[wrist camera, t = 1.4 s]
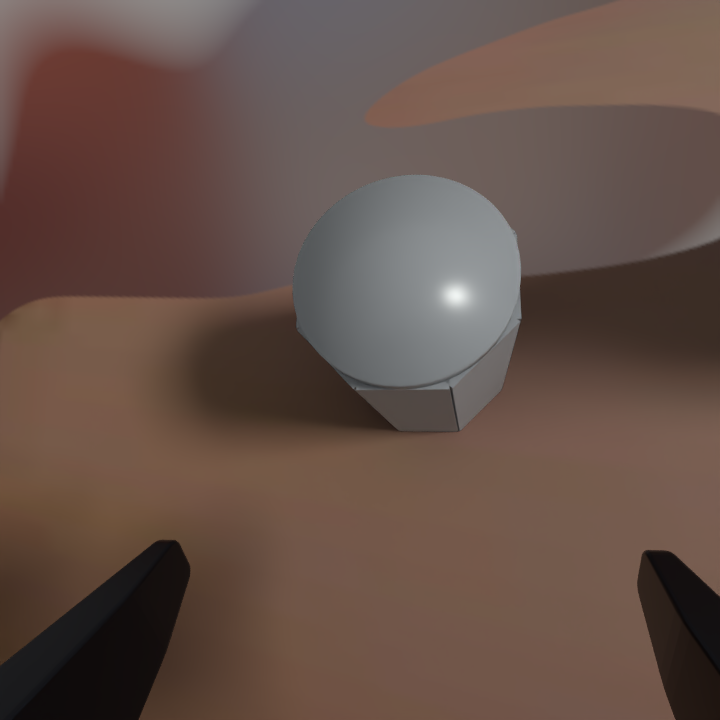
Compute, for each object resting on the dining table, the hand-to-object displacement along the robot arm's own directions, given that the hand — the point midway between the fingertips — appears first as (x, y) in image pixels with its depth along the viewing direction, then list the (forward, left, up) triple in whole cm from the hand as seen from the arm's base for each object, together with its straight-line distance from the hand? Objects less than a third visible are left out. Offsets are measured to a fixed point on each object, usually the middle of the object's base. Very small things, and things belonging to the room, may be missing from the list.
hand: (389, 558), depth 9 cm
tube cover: (+5, +6, -13) cm, 15 cm away
